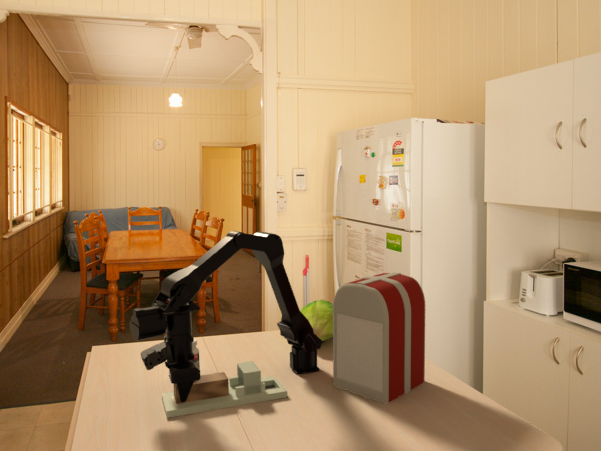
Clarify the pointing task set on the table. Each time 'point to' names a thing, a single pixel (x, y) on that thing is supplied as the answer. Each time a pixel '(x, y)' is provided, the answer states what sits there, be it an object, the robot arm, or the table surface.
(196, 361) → the pill bottle
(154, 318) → the robot arm
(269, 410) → the table surface
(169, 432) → the table surface
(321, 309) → the lettuce
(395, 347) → the red striped block
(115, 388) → the table surface
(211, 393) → the brown rectangular block
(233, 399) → the tunnel deck
